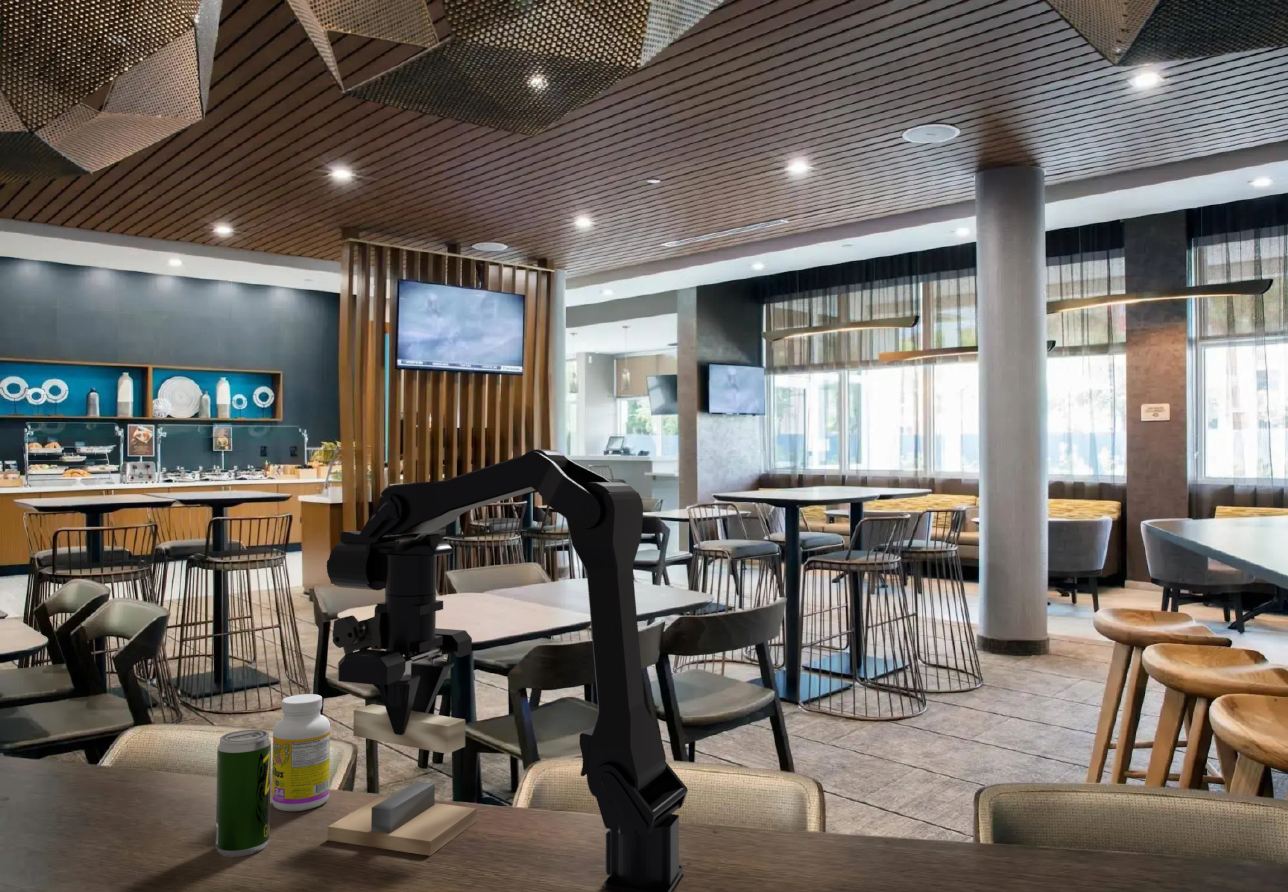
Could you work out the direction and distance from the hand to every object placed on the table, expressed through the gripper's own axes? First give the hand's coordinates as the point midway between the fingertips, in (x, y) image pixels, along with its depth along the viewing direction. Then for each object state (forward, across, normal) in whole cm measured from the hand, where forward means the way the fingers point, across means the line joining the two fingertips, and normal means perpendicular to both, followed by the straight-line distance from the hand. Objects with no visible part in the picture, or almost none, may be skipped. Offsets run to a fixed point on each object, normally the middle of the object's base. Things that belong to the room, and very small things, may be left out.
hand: (408, 729), depth 103 cm
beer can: (+12, +10, -14) cm, 21 cm away
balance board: (+11, 0, 0) cm, 11 cm away
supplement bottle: (+12, -3, -17) cm, 21 cm away
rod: (+1, 0, 0) cm, 1 cm away
